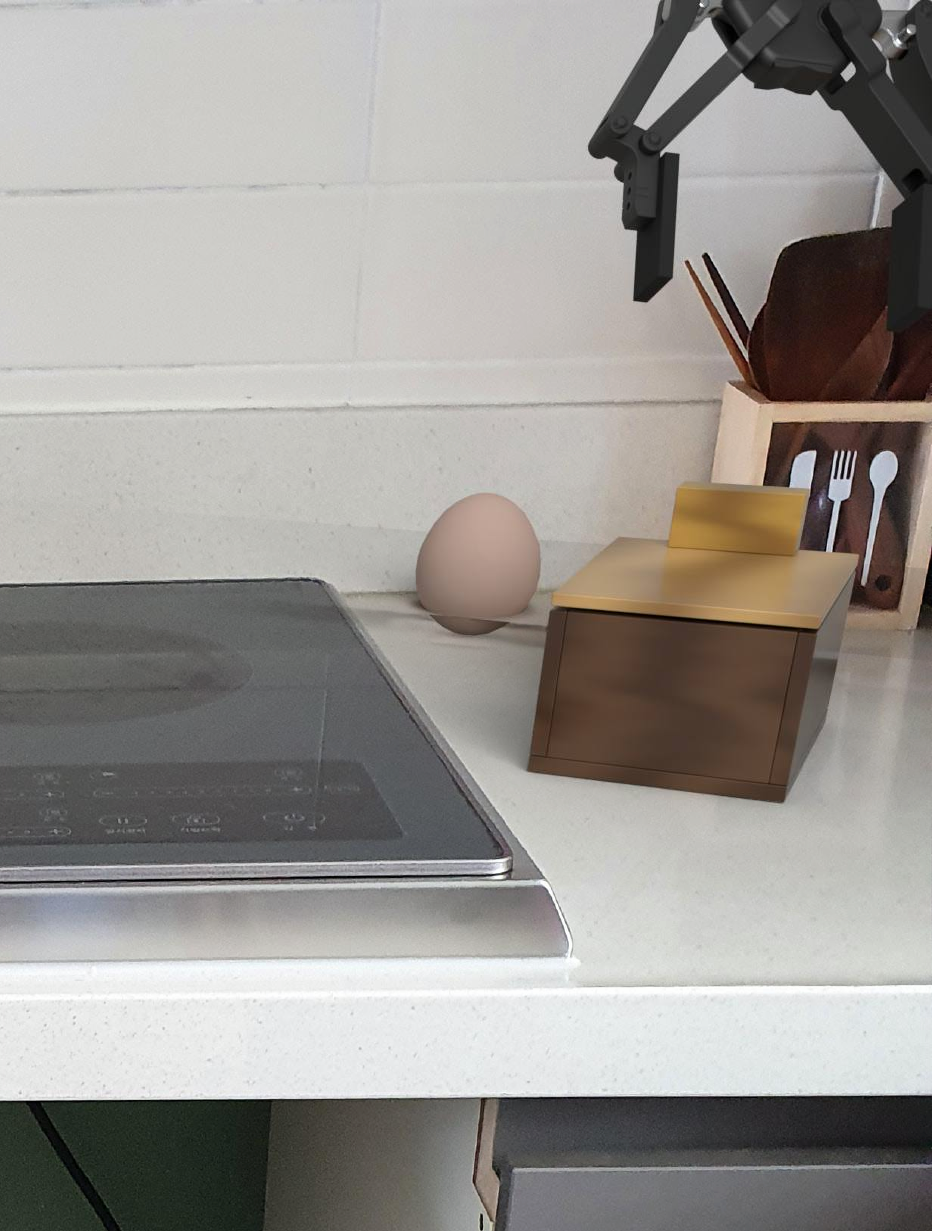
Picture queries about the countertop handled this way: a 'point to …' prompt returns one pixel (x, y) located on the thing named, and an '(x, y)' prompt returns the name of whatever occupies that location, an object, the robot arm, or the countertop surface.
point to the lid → (718, 562)
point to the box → (684, 699)
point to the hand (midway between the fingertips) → (781, 305)
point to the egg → (478, 564)
